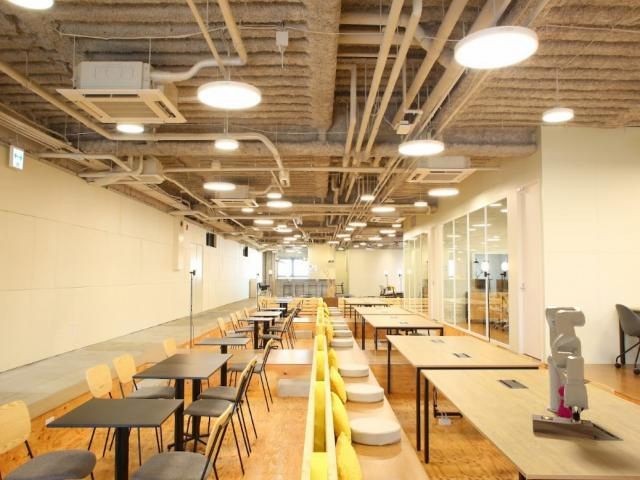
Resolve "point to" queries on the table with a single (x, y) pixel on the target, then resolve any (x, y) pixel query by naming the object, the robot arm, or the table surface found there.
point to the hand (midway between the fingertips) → (576, 420)
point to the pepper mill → (563, 410)
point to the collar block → (563, 427)
